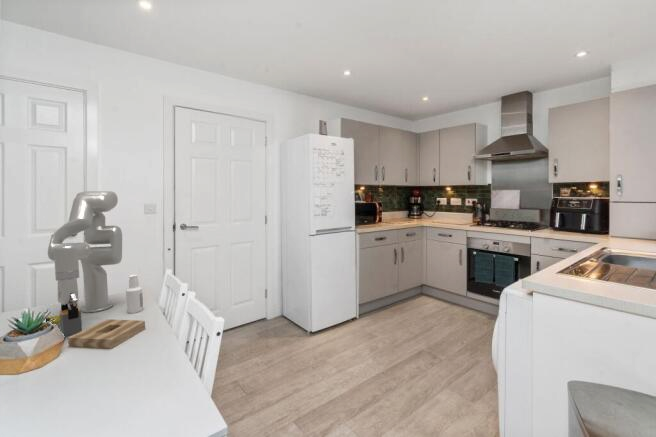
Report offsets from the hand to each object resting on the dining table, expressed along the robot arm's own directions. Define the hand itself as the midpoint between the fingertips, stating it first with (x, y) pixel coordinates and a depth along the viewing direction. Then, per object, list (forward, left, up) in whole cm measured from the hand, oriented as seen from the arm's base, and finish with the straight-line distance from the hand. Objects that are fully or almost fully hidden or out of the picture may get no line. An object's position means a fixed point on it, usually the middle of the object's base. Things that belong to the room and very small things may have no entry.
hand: (69, 316), depth 130 cm
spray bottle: (-8, +27, -8) cm, 29 cm away
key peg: (-1, 0, -8) cm, 8 cm away
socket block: (+16, +8, -8) cm, 20 cm away
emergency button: (-19, -4, -8) cm, 22 cm away
